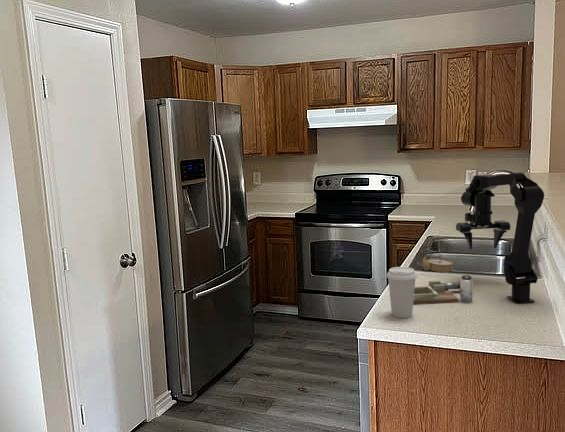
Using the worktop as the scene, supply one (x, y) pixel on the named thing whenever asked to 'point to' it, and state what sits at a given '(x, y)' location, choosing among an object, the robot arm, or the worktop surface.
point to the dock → (433, 294)
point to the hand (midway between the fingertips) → (482, 248)
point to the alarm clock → (436, 264)
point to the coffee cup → (401, 291)
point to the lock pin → (452, 285)
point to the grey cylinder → (466, 289)
